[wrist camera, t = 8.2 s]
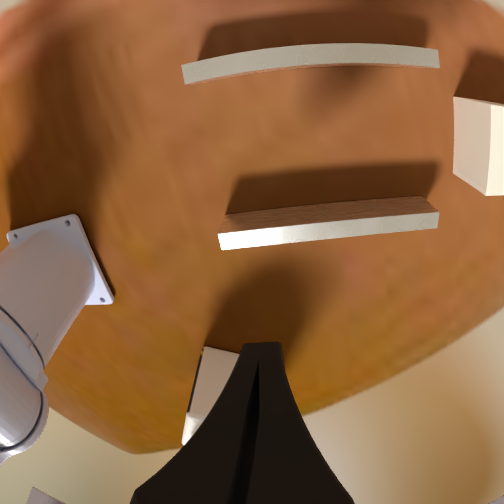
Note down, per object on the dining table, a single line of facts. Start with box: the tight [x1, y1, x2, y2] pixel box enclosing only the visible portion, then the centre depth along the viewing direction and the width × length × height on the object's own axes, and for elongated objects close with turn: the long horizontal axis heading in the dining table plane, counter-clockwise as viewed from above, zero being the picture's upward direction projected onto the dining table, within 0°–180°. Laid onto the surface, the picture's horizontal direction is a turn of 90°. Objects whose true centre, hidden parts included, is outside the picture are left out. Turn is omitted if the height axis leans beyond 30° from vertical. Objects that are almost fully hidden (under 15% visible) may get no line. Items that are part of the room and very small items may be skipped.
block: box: [453, 97, 504, 196], centre depth 12 cm, size 5×5×4 cm
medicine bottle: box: [182, 346, 239, 445], centre depth 22 cm, size 7×7×12 cm
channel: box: [181, 43, 440, 250], centre depth 14 cm, size 12×10×2 cm
